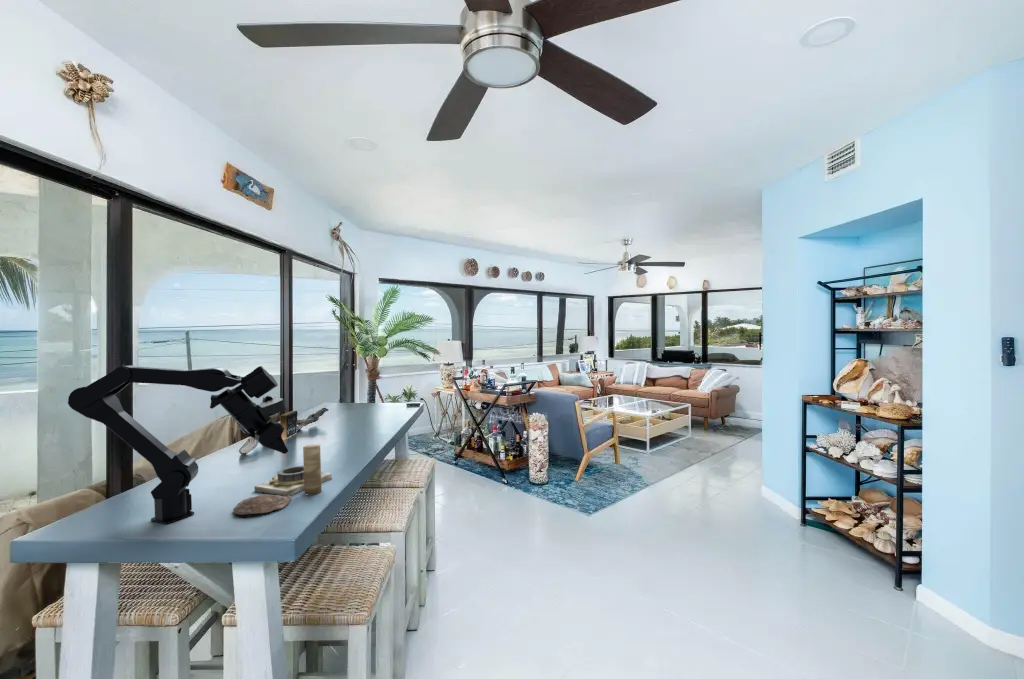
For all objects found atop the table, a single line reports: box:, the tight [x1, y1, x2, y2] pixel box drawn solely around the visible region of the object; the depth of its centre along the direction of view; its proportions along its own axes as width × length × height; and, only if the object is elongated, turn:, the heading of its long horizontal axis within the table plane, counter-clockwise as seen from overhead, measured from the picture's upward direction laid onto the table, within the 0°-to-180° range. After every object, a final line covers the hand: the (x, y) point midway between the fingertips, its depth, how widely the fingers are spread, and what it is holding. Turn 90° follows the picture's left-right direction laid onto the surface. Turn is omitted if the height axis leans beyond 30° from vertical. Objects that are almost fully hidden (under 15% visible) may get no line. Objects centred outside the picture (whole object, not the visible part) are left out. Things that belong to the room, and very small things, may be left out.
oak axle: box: [302, 443, 323, 496], centre depth 125 cm, size 4×4×13 cm
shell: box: [232, 493, 292, 519], centre depth 114 cm, size 12×13×4 cm
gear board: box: [253, 465, 333, 496], centre depth 132 cm, size 16×13×4 cm
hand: (280, 448), depth 123 cm, fingers open, 9 cm apart
